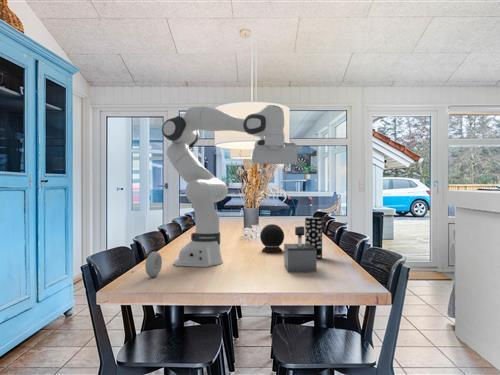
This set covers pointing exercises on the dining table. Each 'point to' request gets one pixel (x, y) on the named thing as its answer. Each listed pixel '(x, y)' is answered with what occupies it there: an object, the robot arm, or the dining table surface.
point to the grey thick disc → (153, 264)
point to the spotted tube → (314, 234)
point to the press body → (300, 258)
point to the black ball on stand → (272, 238)
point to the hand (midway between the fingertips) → (274, 174)
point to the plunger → (299, 234)
